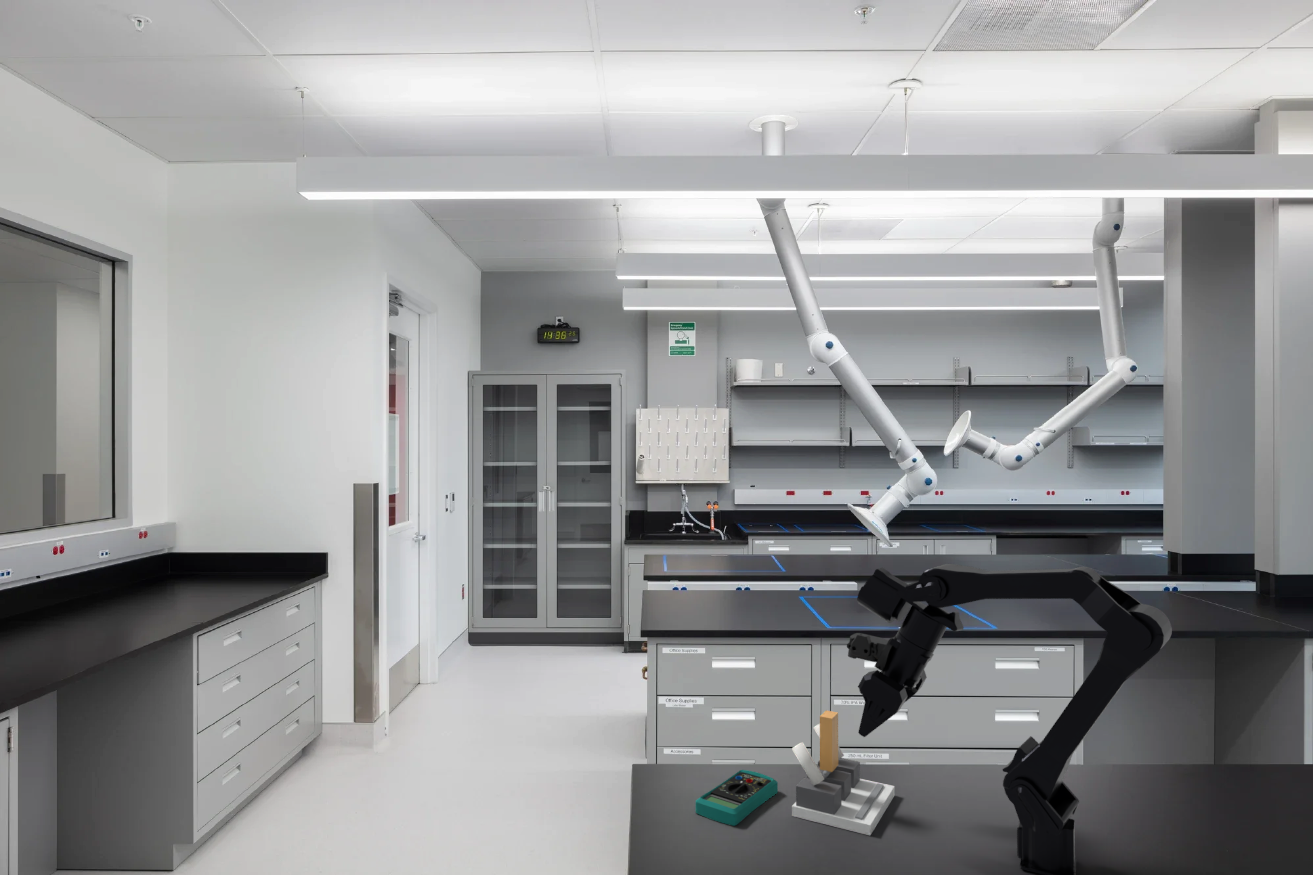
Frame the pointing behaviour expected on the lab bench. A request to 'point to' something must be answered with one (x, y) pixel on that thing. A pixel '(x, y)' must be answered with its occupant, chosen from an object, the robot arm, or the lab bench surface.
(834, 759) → the wooden block
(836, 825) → the twin post stand
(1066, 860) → the robot arm
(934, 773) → the lab bench surface
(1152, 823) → the lab bench surface
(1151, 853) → the lab bench surface
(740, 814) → the digital multimeter
